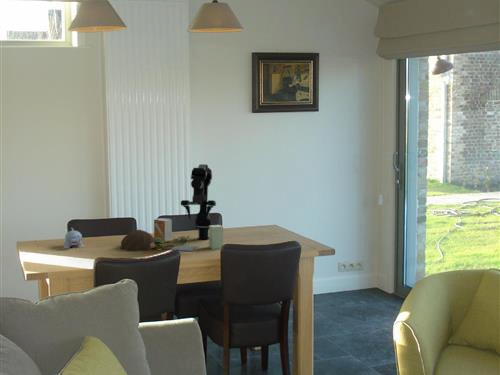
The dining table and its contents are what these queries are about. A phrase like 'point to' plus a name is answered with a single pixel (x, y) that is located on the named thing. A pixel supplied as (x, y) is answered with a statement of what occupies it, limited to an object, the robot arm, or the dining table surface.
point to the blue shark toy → (73, 239)
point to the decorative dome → (137, 241)
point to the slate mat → (185, 248)
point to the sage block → (215, 236)
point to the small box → (163, 228)
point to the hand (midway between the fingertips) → (198, 219)
